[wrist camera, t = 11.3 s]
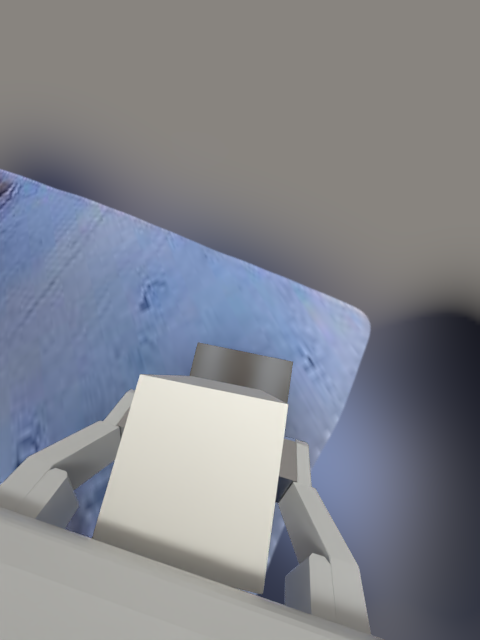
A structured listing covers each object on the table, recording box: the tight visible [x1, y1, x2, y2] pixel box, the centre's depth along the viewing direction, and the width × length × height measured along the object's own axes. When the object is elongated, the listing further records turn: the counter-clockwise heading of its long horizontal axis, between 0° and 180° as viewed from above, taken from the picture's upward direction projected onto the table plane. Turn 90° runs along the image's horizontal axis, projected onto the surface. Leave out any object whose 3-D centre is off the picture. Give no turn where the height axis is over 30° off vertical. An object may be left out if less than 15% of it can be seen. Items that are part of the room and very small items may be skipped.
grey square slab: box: [190, 343, 293, 403], centre depth 27 cm, size 11×11×4 cm
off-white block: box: [92, 374, 288, 594], centre depth 10 cm, size 4×4×8 cm
